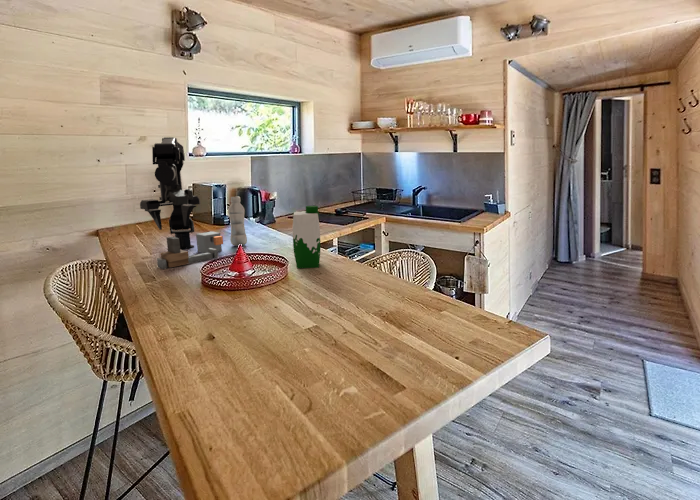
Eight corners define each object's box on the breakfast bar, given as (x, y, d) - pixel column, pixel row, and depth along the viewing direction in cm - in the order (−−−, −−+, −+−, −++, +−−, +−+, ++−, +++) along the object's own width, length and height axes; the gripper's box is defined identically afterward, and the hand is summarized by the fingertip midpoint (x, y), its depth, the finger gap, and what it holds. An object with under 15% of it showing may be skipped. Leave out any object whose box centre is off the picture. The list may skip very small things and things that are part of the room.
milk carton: (321, 268, 154) (319, 207, 149) (293, 269, 153) (290, 208, 149) (320, 261, 162) (318, 204, 158) (294, 263, 162) (291, 205, 157)
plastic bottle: (243, 247, 189) (240, 198, 184) (228, 247, 190) (224, 198, 186) (250, 244, 195) (246, 196, 190) (234, 244, 196) (231, 196, 192)
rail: (157, 267, 159) (156, 258, 159) (211, 256, 174) (211, 248, 174) (163, 269, 157) (162, 260, 156) (217, 257, 172) (217, 249, 171)
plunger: (206, 243, 181) (205, 235, 181) (213, 241, 184) (212, 234, 183) (216, 245, 177) (215, 237, 176) (223, 244, 179) (222, 236, 178)
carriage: (161, 265, 161) (158, 238, 159) (180, 261, 166) (178, 235, 164) (170, 267, 157) (167, 240, 155) (189, 263, 162) (186, 237, 160)
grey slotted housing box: (197, 251, 183) (196, 234, 182) (213, 248, 188) (212, 231, 187) (205, 253, 179) (204, 235, 178) (221, 250, 184) (220, 233, 183)
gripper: (152, 184, 144) (158, 234, 147) (206, 180, 158) (210, 226, 161) (136, 183, 151) (142, 230, 155) (189, 179, 165) (193, 223, 168)
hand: (173, 227), depth 159 cm, fingers open, 9 cm apart
